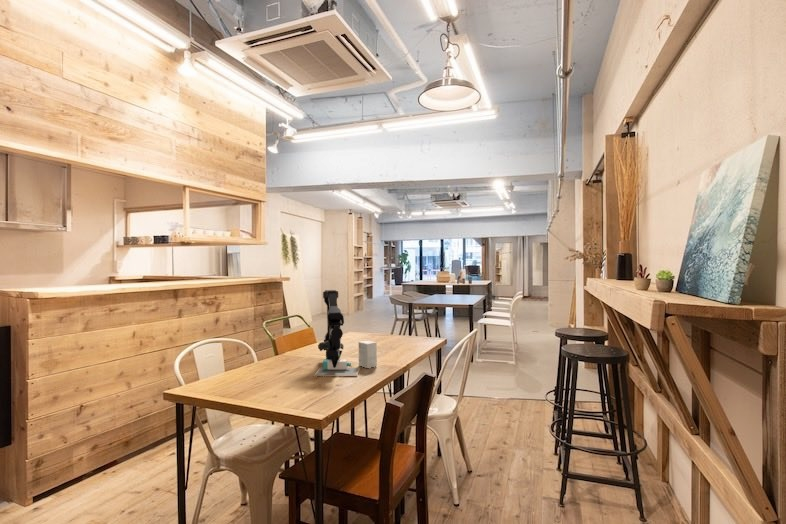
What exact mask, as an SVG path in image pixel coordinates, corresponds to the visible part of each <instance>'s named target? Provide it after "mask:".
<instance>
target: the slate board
mask: <svg viewBox="0 0 786 524" xmlns="http://www.w3.org/2000/svg"><path fill="white" fill-rule="evenodd" d="M360 372H361V367H360V366H358V367H352V366H347V369H323V366H322V367H321V366H320V367H319V368H318V369H317V371H316V372H315V373H314V375H313V377H314V378H318V377H317V376H323V377H322V378H327V377H326V376H357V375H359V374H360ZM358 373H359V374H358ZM324 376H325V377H324ZM357 377H358V376H357Z"/></svg>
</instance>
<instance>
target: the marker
mask: <svg viewBox="0 0 786 524" xmlns="http://www.w3.org/2000/svg"><path fill="white" fill-rule="evenodd" d="M322 367H323V369H347V367H352V363H351V362H348V359H339V360H338V362H337V365H336V367H335V368H334V367H333V364H332V360H325V359H323V361H322Z"/></svg>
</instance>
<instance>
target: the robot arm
mask: <svg viewBox="0 0 786 524" xmlns="http://www.w3.org/2000/svg"><path fill="white" fill-rule="evenodd" d="M322 299H323V303H325V305H326V321H327V322H326V325H327V326H326V327H327V328H326V334H325V335H324V339H323V341H322V342H319V343H318V345H317V349H318V350H319V352H322V351H325V359H324V360H332V364H333V367H334V368H335V367H336V365H337V362H338V360H340V357H341V355H342V353H343V350H344V344H343V343H342V342H341V340H342V337H343V335H344V333H343V330H342V329H341V326H344V324H345V319H344V315H343V313H342V312H341V309H340V308H339V306H338V299H339V291H338V290H336V289H325V290H324V291H322ZM340 349H341V350H340Z"/></svg>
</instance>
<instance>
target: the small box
mask: <svg viewBox="0 0 786 524" xmlns="http://www.w3.org/2000/svg"><path fill="white" fill-rule="evenodd" d="M377 350H378V348H377V342H375V341H371V340H364V341H358V367H360V366H362V367H361V368H363V367H365V368H364V369H366V368H369V369H372V368H371V367H374V368H376V367H375V366H377V367H378V362H377V361H378V360H377V357H378V355H377V354H378V353H377Z"/></svg>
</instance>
